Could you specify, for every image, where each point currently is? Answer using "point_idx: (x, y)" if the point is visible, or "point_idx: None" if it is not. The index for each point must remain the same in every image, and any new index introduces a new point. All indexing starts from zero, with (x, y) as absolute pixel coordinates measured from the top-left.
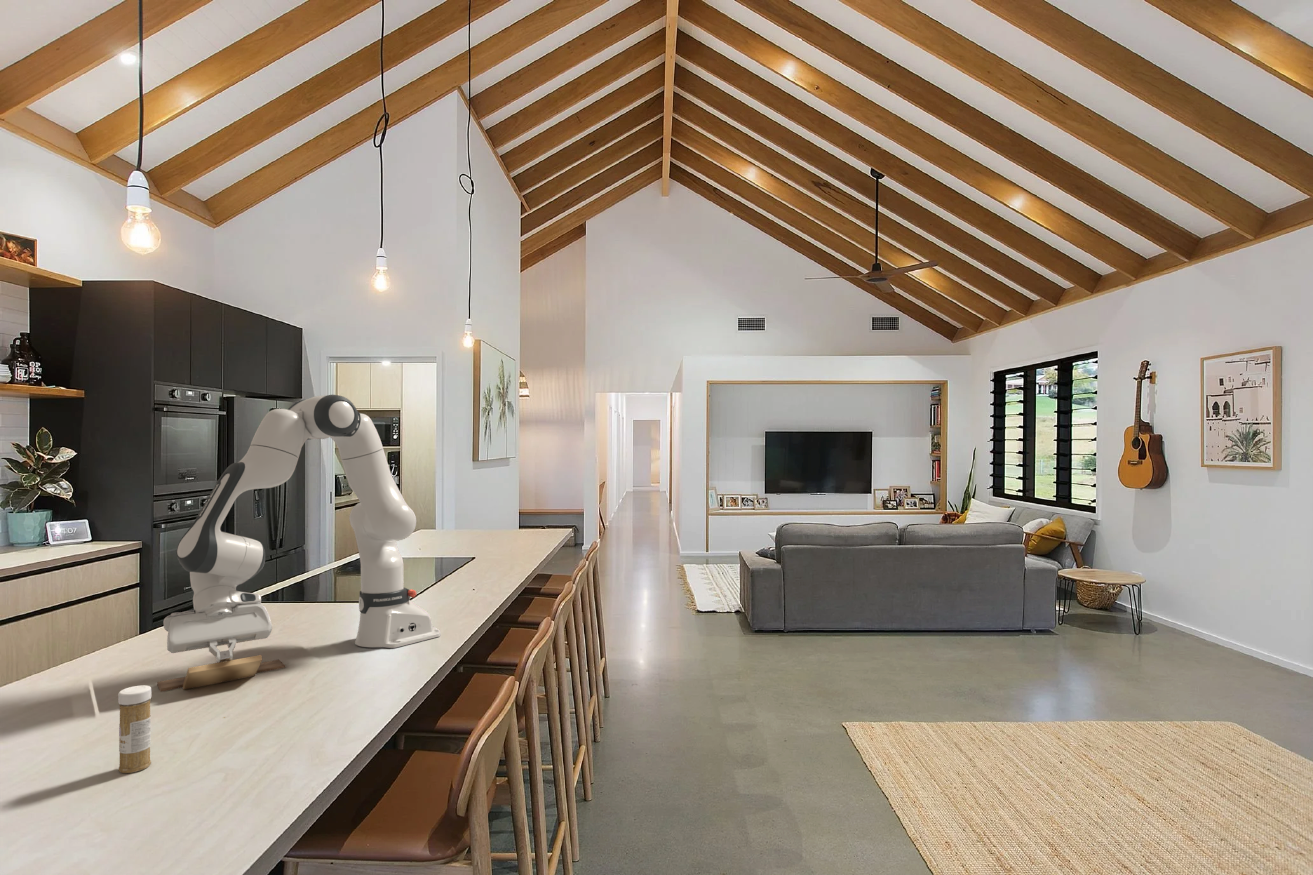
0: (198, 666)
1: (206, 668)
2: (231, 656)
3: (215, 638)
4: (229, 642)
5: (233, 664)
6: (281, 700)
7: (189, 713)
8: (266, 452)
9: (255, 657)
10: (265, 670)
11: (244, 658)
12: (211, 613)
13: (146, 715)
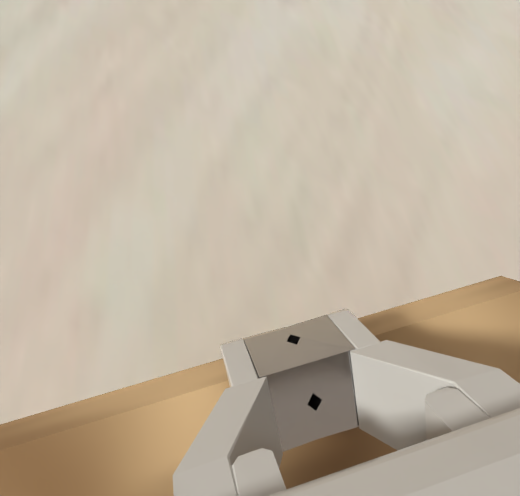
0: (471, 305)
1: (405, 312)
2: (230, 342)
3: (502, 414)
4: (269, 451)
5: (216, 362)
6: (16, 167)
7: (365, 170)
8: None
9: (21, 435)
10: None
11: (121, 410)
12: None
13: None
